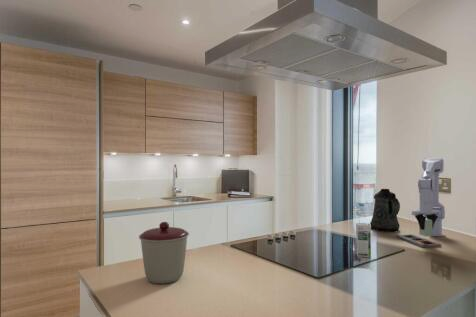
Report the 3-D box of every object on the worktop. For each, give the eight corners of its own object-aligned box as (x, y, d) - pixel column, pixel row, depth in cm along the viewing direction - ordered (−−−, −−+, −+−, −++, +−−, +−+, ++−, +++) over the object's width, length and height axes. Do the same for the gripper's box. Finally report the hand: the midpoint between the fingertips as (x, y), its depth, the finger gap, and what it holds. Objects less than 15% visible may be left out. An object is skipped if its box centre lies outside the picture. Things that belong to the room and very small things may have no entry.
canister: (137, 273, 123) (137, 219, 123) (184, 267, 130) (183, 216, 130) (140, 292, 106) (140, 229, 106) (194, 284, 113) (193, 224, 113)
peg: (419, 234, 162) (419, 218, 162) (426, 234, 163) (426, 218, 163) (425, 236, 158) (424, 220, 159) (432, 235, 159) (432, 220, 159)
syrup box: (357, 256, 142) (356, 224, 142) (356, 253, 148) (356, 222, 148) (370, 258, 141) (370, 225, 141) (369, 254, 146) (369, 222, 146)
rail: (396, 237, 177) (396, 234, 177) (412, 236, 178) (412, 234, 178) (423, 247, 156) (423, 244, 156) (441, 246, 157) (441, 244, 157)
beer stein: (378, 225, 208) (377, 187, 208) (409, 230, 193) (409, 189, 193) (365, 229, 197) (364, 189, 197) (397, 234, 182) (396, 191, 182)
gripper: (418, 203, 155) (418, 231, 155) (445, 203, 157) (445, 230, 157) (408, 201, 162) (409, 228, 162) (434, 201, 164) (434, 227, 164)
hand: (426, 229), depth 160 cm, fingers closed on peg, 4 cm apart
